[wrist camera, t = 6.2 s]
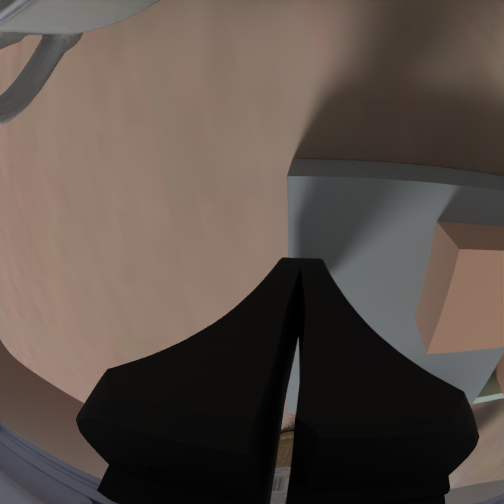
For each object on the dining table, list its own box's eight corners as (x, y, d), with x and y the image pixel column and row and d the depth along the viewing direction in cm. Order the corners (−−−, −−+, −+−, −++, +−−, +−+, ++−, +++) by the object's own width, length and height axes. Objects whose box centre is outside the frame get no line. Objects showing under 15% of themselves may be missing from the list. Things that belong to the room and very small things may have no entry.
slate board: (520, 179, 10) (557, 200, 7) (460, 368, 15) (472, 403, 13) (292, 158, 12) (286, 176, 9) (291, 371, 17) (286, 412, 15)
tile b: (520, 228, 8) (548, 252, 6) (492, 314, 10) (510, 346, 8) (436, 221, 9) (459, 248, 7) (414, 318, 11) (426, 354, 9)
